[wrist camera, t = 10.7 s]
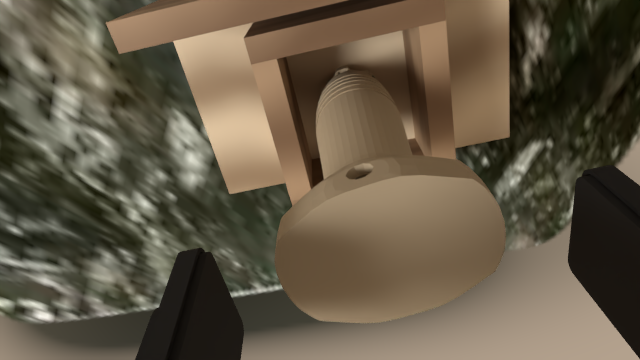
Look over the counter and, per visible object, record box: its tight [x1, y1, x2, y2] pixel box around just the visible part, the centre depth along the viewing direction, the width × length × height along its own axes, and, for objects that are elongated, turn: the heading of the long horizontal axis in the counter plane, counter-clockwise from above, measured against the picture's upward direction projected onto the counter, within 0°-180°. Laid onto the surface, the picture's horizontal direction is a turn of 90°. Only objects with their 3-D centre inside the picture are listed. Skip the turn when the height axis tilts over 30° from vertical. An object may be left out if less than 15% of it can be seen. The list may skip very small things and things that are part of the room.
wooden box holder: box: [106, 0, 510, 206], centre depth 22 cm, size 12×18×8 cm, turn 102°
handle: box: [275, 66, 506, 323], centre depth 19 cm, size 5×6×15 cm
